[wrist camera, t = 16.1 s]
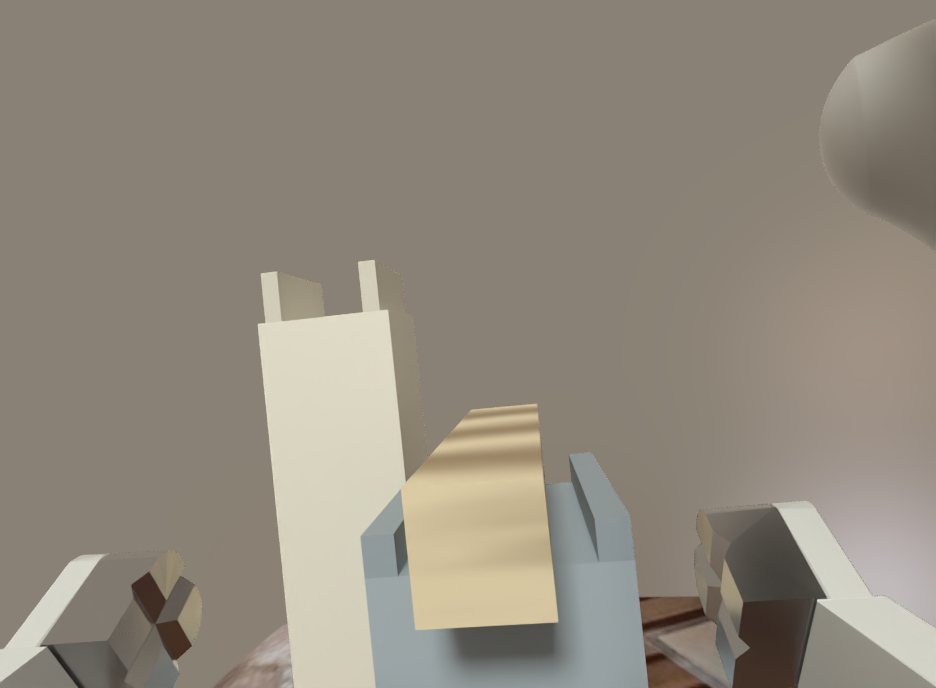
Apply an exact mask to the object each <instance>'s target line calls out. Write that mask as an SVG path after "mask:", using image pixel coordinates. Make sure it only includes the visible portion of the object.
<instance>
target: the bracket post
mask: <svg viewBox="0 0 936 688" xmlns="http://www.w3.org/2000/svg"><path fill="white" fill-rule="evenodd" d="M358 266H359V276H360V285H361V295H362V305H363V312H362V313H353V314H344V315H335V316H327V317H325V315H324V305H323V296H322V286H321V284H318V283H314V282H311V281H307V280H304V279H300V278H297V277H293V276H290V275H286V274H283V273H280V272H269V273H261V280H262V291H263V301H264V311H265V320H266V323H264V324H258V332H259V341H260V352H261V362H262V371H263V382H264V391H265V401H266V410H267V421H268V431H269V440H270V451H271V461H272V471H273V481H274V490H275V501H276V511H277V521H278V531H279V540H280V550H281V560H282V571H283V581H284V590H285V600H286V610H287V620H288V630H289V640H290V650H291V660H292V670H293V680H294V688H376V685H375V675H374V666H373V656H372V646H371V636H370V626H369V616H368V607H367V597H366V587H365V577H364V567H363V557H362V548H361V538H360V536H361V535H362V534H363V533H364V532H365V530H366V529H367V528H368V527H369V526H370V525H371V523H372V522H373V521H374V520H375V519H376V517H377V516H378V515H379V514H380V513H381V512H382V510H383V509H384V508H385V507H386V506H387V505H388V503H389V502H390V501H391V500H392V499H393V498H394V496H395V495H396V494H397V493H398V492H399V490H400V489H401V487H402V486H403V485H404V484H405V483H406V482H407V481H408V479H409V478H410V477H411V476H412V475H413V474H414V473H415V472H416V470H417V469H418V468H419V467H420V466H421V465H422V464H423V463H424V462H425V461H426V460H427V458H428V457H427V447H426V438H425V427H424V418H423V408H422V399H421V389H420V379H419V370H418V360H417V350H416V340H415V331H414V321H413V316H411V315H407V314H406V310H405V300H404V291H403V281H402V275H401V274H399V273H397V272H395V271H393V270H391V269H390V268H388V267H386V266H384V265H383V264H381V263H379V262H377V261H376V260H371V261H362V262H358Z"/></svg>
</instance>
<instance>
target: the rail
mask: <svg viewBox="0 0 936 688" xmlns="http://www.w3.org/2000/svg"><path fill="white" fill-rule="evenodd" d="M401 496H402V506H403V515H404V525H405V535H406V545H407V554H408V564H409V574H410V584H411V593H412V603H413V613H414V623H415V630H427V629H446V628H464V627H482V626H500V625H518V624H536V623H555V622H558V612H557V601H556V591H555V580H554V570H553V559H552V549H551V538H550V528H549V517H548V507H547V496H546V485H545V475H544V466H543V456H542V446H541V436H540V427H539V417H538V408H537V404H529V405H519V406H508V407H497V408H486V409H475V410H471V411H470V412H469V413H468V414H467V415H466V416H465V418H464V419H463V420H462V421H461V422H460V423H459V424H458V425H457V427H456V428H455V429H454V430H453V431H452V432H451V433H450V434H449V435H448V436H447V437H446V439H445V440H444V441H443V442H442V443H441V444H440V445H439V446H438V447H437V449H436V450H435V451H434V452H433V453H432V454H431V455H430V456H429V457H428V458H427V460H426V461H425V462H424V463H423V464H422V465H421V466H420V467H419V468H418V470H417V471H416V472H415V473H414V474H413V475H412V476H411V477H410V478H409V479H408V481H407V482H406V483H405V484H404V485H403V486H402V487H401Z"/></svg>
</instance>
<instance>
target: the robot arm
mask: <svg viewBox="0 0 936 688" xmlns="http://www.w3.org/2000/svg"><path fill="white" fill-rule="evenodd" d="M819 148H820V154H821V159H822V162H823V165H824V169H825V171H826V173H827V175H828V177H829V179H830V180H831V182H832V183H833V185H834V187H835V188H836V189H837V190H838V191H839V192H840V194H841V195H842V196H843V197H844V198H845V199H846V200H848V201H849V202H850V203H851V204H853V205H854V206H855V207H857V208H858V209H860V210H862V211H864V212H865V213H867V214H869V215H871V216H874V217H877V218H879V219H882V220H884V221H887V222H889V223H891V224H892V225H894V226H896V227H898V228H900V229H902V230H904V231H906V232H907V233H909V234H910V235H912V236H913V237H915V238H917V239H918V240H920V241H921V242H922V243H924V244H925V245H926V246H928V247H929V248H930V249H931V250H933V251H934V252H935V253H936V19H933V20H931V21H929V22H927V23H925V24H922V25H920V26H918V27H916V28H914V29H911V30H909V31H907V32H905V33H903V34H901V35H899V36H896V37H894V38H892V39H890V40H888V41H886V42H884V43H882V44H880V45H878V46H876V47H874V48H872V49H870V50H868V51H866V52H864V53H862V54H860V55H858V56H856V57H854V58H853V59H852V60H851V61H850V62H849V64H848V65H847V66H846V67H845V68H844V70H843V71H842V73H841V74H840V76H839V77H838V79H837V80H836V82H835V84H834V86H833V87H832V89H831V91H830V93H829V96H828V98H827V100H826V103H825V106H824V109H823V112H822V116H821V121H820V128H819ZM696 530H697V533H698V535H699V538H700V540H701V544H700V545H699V546H698V547H697V548H696V549H695V553H694V555H695V556H694V569H695V577H696V584H697V589H698V593H699V597H700V600H701V603H702V606H703V609H704V612H705V615H706V616H707V617H708V618H709V619H710V620H712V621H713V622H714V623H715V624H716V625H717V633H716V647H717V649H718V652H719V655H720V658H721V660H722V663H723V666H724V669H725V671H726V674H727V677H728V680H729V683H730V685H731V688H936V628H935V627H934V626H932V625H931V624H929V623H927V622H926V621H924V620H923V619H921V618H919V617H918V616H916V615H915V614H913V613H912V612H910V611H908V610H907V609H905V608H904V607H902V606H901V605H899V604H897V603H896V602H894V601H893V600H891V599H890V598H888V597H886V596H873V595H872V593H871V592H870V590H869V589H868V588H867V586H866V584H865V583H864V581H863V580H862V578H861V577H860V575H859V574H858V572H857V570H856V569H855V568H854V566H853V564H852V563H851V561H850V560H849V558H848V557H847V556H846V554H845V552H844V551H843V549H842V548H841V546H840V545H839V543H838V542H837V540H836V538H835V537H834V536H833V534H832V532H831V531H830V529H829V528H828V526H827V525H826V523H825V522H824V520H823V519H822V517H821V516H820V514H819V512H818V511H817V509H816V508H815V506H814V505H812V504H811V503H809V502H808V501H798V502H787V503H774V504H770V505H768V504H761V505H749V506H738V507H726V508H714V509H703V510H699V513H698V515H697V523H696ZM184 567H185V565H184V563H183V562H182V560H181V558H180V557H179V555H178V554H177V552H176V551H147V552H128V553H110V554H95V555H81V556H79V557H78V558H76V559H74V560H73V561H71V562H69V564H68V565H67V567H66V568H65V569H64V570H63V572H62V573H61V574H60V576H59V577H58V578H57V580H56V581H55V582H54V584H53V585H52V586H51V588H50V589H49V590H48V592H47V593H46V594H45V596H44V597H43V598H42V600H41V601H40V602H39V604H38V605H37V606H36V608H35V609H34V610H33V612H32V613H31V614H30V615H29V617H28V618H27V619H26V621H25V622H24V623H23V625H22V626H21V627H20V629H19V630H18V631H17V633H16V634H15V635H14V637H13V638H12V639H11V641H10V642H9V643H8V645H7V646H6V647H5V648H4V649H0V688H173V686H174V684H175V681H176V680H177V678H178V675H179V669H178V665H177V659H178V658H179V657H180V656H181V655H183V654H184V653H185V652H186V651H187V650H188V649H189V648H190V647H191V646H192V645H193V643H194V640H195V638H196V636H197V633H198V631H199V629H200V623H201V616H202V603H201V597H200V594H199V592H198V590H197V588H196V586H195V584H193V583H191V582H190V581H188V580H187V579H185V578H184V577H182V576H181V574H182V571H183V569H184Z"/></svg>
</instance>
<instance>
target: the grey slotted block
mask: <svg viewBox="0 0 936 688" xmlns="http://www.w3.org/2000/svg"><path fill="white" fill-rule="evenodd" d="M569 461H570V470H571V480H572V482H570V483H569V482H568V483H557V484H545V485H546V496H547V507H548V517H549V528H550V538H551V549H552V559H553V570H554V580H555V591H556V601H557V612H558V622H555V623H536V624H518V625H500V626H482V627H464V628H446V629H427V630H415V623H414V613H413V603H412V593H411V584H410V574H409V564H408V554H407V545H406V535H405V525H404V515H403V506H402V496H401V489H400V490H399V492H398V493H397V494H396V495H395V496H394V498H393V499H392V500H391V501H390V502H389V503H388V505H387V506H386V507H385V508H384V509H383V510H382V512H381V513H380V514H379V515H378V516H377V517H376V519H375V520H374V521H373V522H372V523H371V525H370V526H369V527H368V528H367V529H366V530H365V532H364V533H363V534H362V535H361V536H360V538H361V548H362V557H363V567H364V577H365V587H366V597H367V607H368V616H369V626H370V636H371V646H372V656H373V666H374V675H375V685H376V688H648V679H647V669H646V660H645V651H644V641H643V632H642V622H641V613H640V603H639V595H638V584H637V575H636V566H635V556H634V547H633V537H632V528H631V518H630V515H629V513H628V512H627V510H626V508H625V507H624V505H623V503H622V502H621V500H620V499H619V497H618V495H617V494H616V492H615V490H614V489H613V487H612V485H611V484H610V482H609V481H608V479H607V477H606V476H605V474H604V472H603V471H602V469H601V468H600V466H599V464H598V463H597V461H596V459H595V458H594V456H593V455H592V453H582V454H581V453H580V454H569ZM417 470H418V469H417ZM417 470H416V471H417Z"/></svg>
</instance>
